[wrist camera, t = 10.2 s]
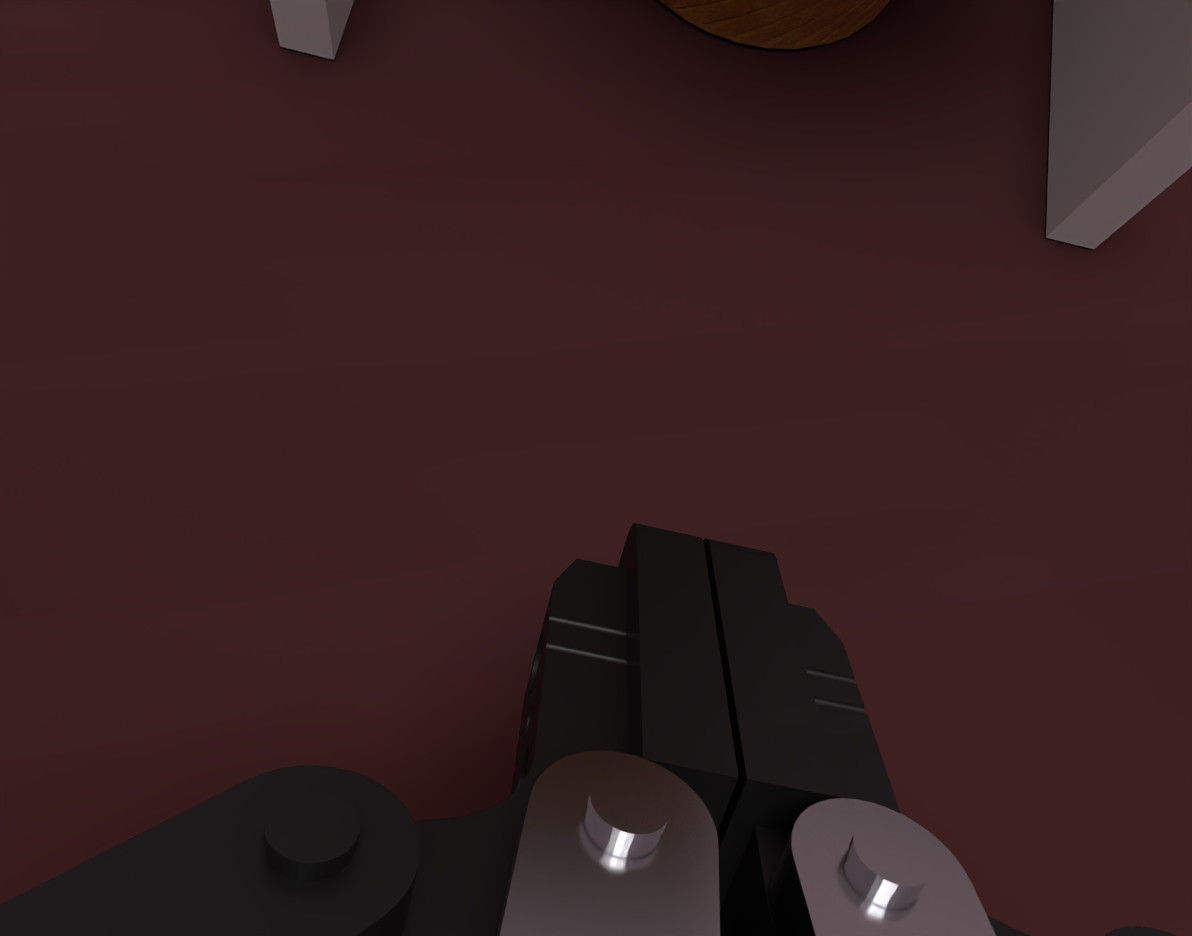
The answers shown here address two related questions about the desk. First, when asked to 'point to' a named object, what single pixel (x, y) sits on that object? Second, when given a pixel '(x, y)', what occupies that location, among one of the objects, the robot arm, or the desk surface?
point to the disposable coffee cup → (779, 19)
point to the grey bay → (1077, 103)
